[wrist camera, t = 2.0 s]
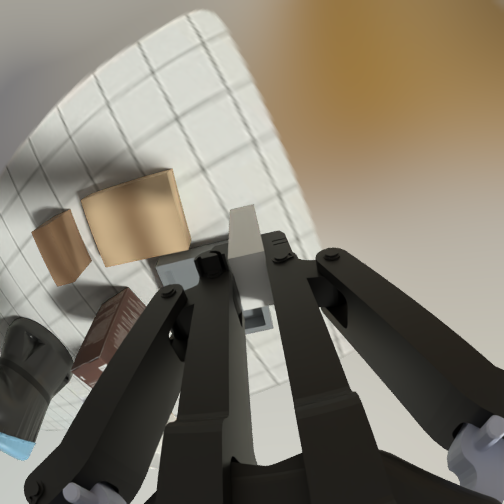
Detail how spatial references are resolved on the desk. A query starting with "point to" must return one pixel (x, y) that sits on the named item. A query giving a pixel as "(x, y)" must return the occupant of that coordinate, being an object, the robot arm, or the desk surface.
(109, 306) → the box
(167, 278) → the tray
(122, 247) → the light brown wooden block
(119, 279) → the desk surface
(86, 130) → the desk surface
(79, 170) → the desk surface
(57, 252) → the brown rectangular block
